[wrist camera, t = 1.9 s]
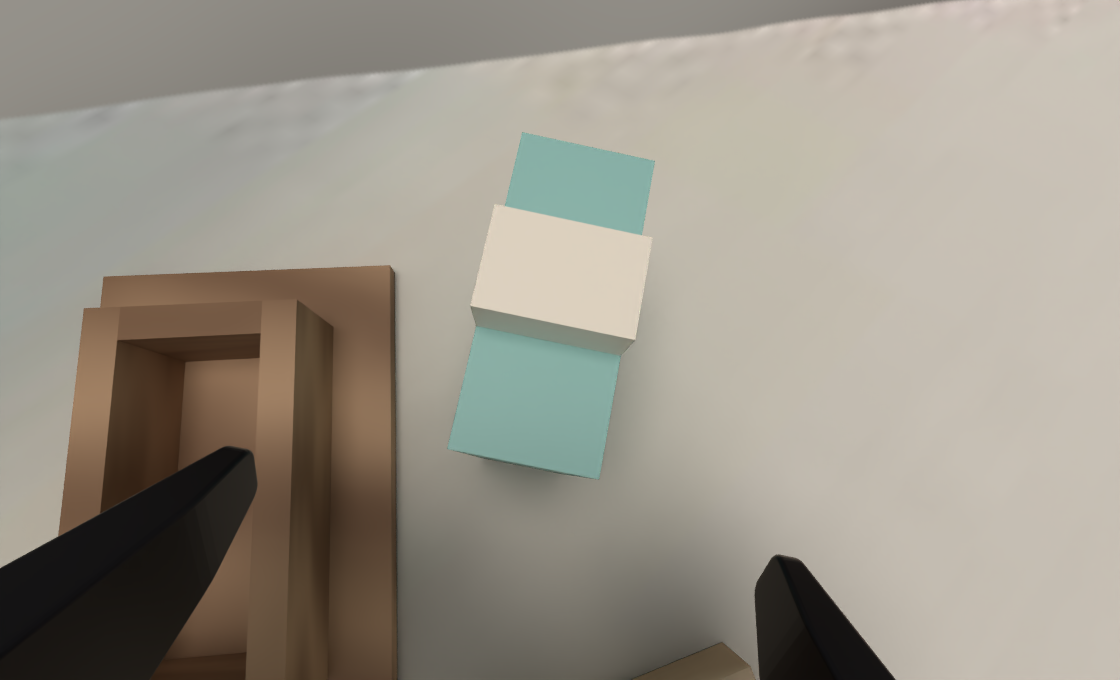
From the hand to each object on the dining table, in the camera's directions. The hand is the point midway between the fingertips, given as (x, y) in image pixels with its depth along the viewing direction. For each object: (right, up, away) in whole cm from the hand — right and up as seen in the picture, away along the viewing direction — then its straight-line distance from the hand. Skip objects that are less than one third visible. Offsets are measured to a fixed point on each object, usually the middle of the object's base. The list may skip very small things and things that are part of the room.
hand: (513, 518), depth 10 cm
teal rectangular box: (0, +2, +12) cm, 12 cm away
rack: (-10, -2, +10) cm, 15 cm away
